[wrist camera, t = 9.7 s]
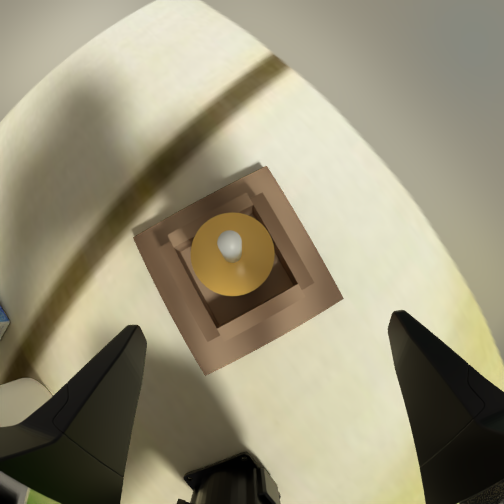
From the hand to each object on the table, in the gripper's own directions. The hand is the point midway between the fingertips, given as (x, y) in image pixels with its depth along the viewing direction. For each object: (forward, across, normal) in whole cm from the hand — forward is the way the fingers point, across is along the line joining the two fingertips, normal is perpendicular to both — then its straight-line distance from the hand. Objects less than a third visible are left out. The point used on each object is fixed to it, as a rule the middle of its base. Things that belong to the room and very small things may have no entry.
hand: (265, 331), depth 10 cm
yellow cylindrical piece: (+11, +2, +5) cm, 13 cm away
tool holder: (+12, +2, +6) cm, 14 cm away
